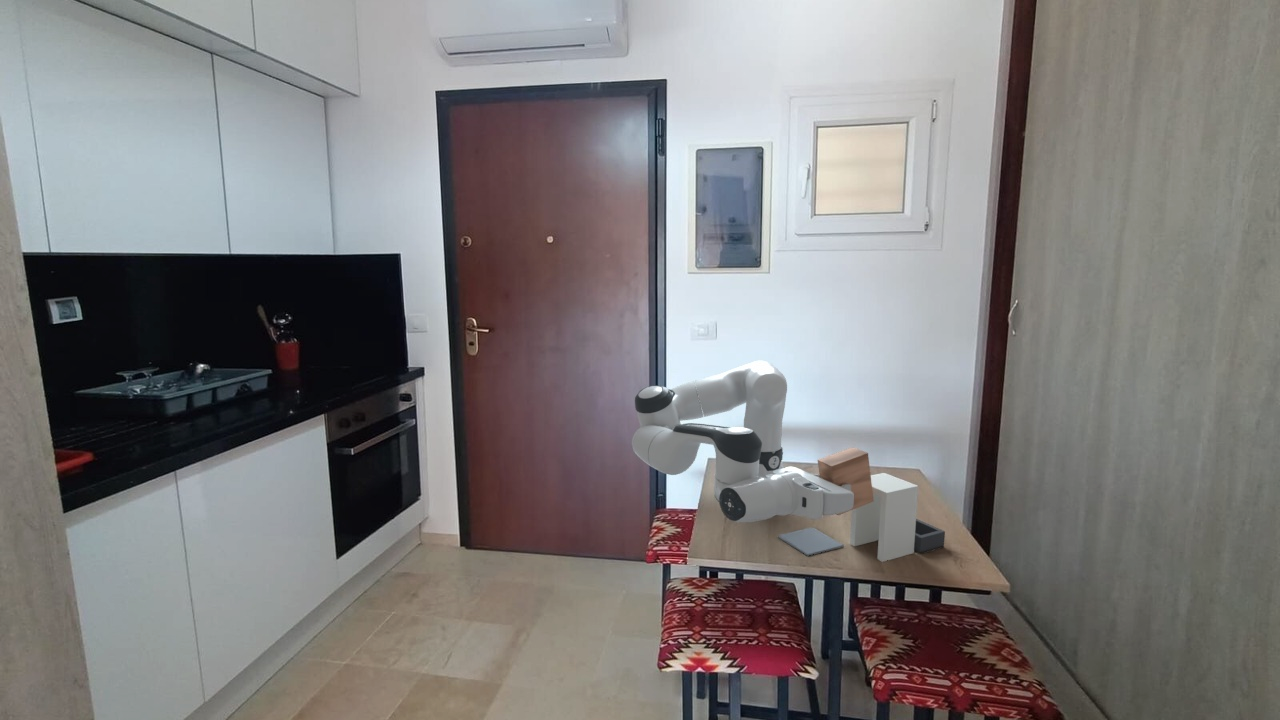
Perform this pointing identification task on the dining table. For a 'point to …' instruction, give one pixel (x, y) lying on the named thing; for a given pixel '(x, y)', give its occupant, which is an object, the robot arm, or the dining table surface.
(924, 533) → the bin
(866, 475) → the block
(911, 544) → the white arch frame
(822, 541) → the mat
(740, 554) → the dining table surface
